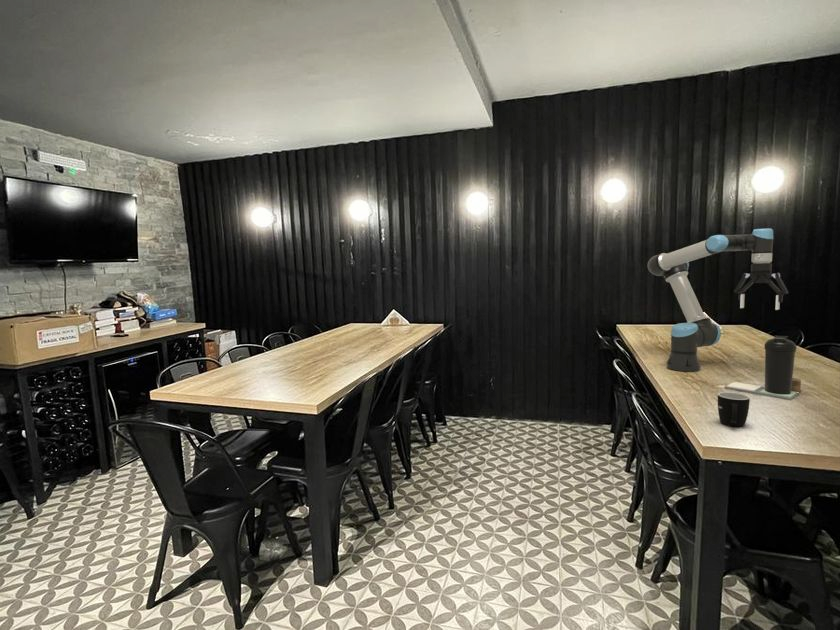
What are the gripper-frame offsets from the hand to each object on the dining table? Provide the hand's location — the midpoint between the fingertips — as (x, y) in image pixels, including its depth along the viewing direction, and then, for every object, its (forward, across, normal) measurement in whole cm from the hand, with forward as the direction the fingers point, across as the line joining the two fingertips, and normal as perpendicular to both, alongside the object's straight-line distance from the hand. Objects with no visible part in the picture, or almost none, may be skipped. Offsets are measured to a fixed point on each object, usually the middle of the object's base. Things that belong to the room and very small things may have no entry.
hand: (759, 308), depth 205 cm
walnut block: (+33, +17, -14) cm, 40 cm away
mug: (+33, +16, -76) cm, 84 cm away
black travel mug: (+32, +15, -24) cm, 43 cm away
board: (+33, +9, -24) cm, 42 cm away
